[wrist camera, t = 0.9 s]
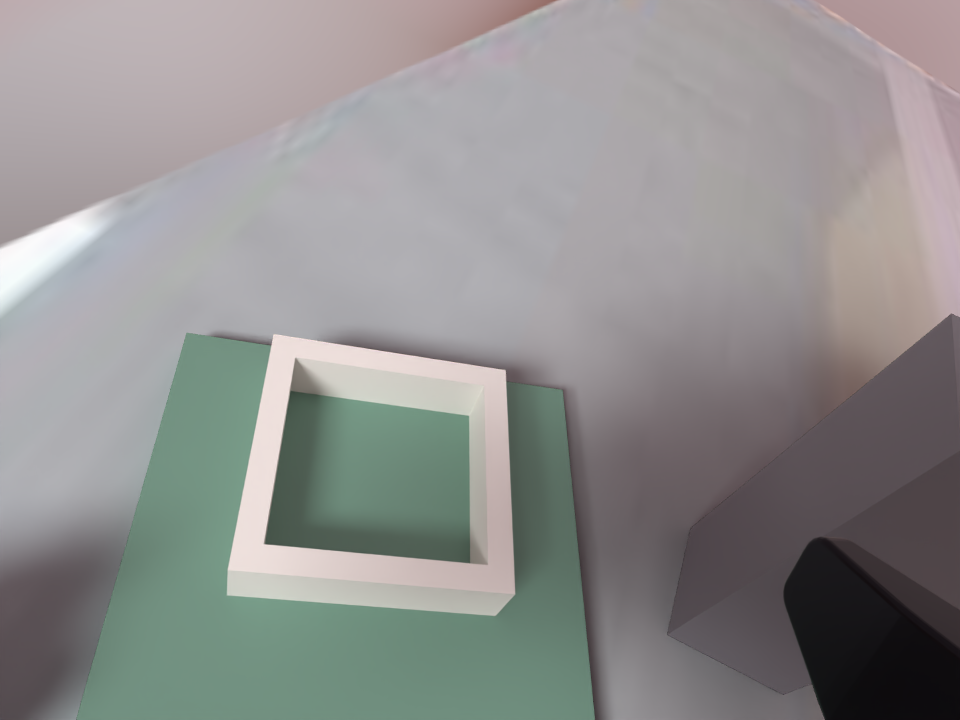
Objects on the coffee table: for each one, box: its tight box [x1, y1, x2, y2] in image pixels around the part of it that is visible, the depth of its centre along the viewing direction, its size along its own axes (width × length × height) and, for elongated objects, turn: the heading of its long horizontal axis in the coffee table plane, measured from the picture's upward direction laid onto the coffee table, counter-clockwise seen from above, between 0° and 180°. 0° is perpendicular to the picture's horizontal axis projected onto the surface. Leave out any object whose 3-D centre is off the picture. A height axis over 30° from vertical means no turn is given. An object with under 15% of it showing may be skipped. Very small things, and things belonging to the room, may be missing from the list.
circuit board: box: [76, 333, 595, 720], centre depth 21 cm, size 21×14×3 cm, turn 0°
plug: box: [667, 314, 960, 695], centre depth 22 cm, size 5×4×13 cm
